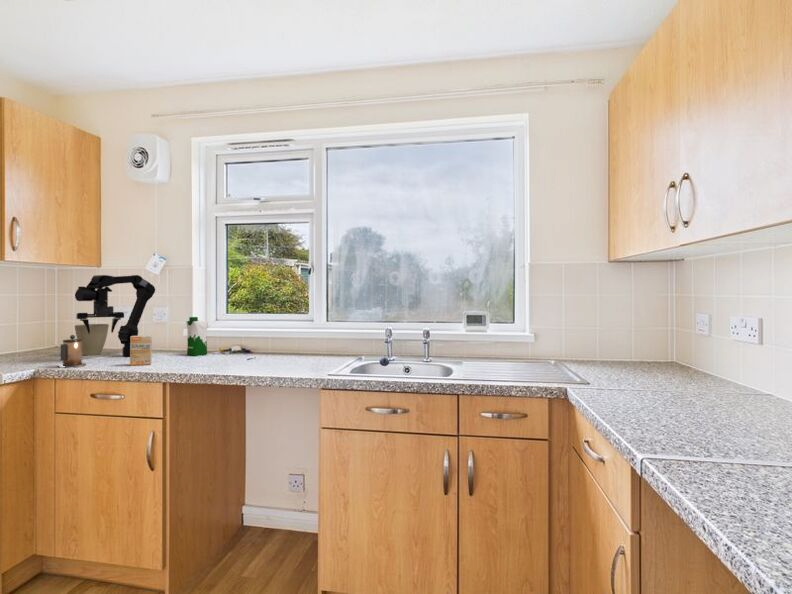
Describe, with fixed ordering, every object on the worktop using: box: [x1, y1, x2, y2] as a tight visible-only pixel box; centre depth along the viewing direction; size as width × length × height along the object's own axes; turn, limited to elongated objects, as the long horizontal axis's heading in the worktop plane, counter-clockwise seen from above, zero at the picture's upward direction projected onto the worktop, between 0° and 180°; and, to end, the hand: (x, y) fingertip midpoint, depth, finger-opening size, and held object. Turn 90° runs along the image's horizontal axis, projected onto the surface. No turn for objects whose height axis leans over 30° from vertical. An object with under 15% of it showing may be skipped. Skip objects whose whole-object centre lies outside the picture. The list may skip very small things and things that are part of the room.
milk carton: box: [185, 316, 209, 357], centre depth 228 cm, size 9×9×20 cm
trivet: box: [65, 362, 87, 368], centre depth 192 cm, size 10×10×1 cm
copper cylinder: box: [60, 334, 83, 366], centre depth 192 cm, size 8×7×13 cm
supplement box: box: [129, 335, 153, 367], centre depth 196 cm, size 8×5×13 cm, turn 115°
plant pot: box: [74, 323, 110, 356], centre depth 230 cm, size 15×15×16 cm
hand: (100, 333), depth 210 cm, fingers open, 9 cm apart
